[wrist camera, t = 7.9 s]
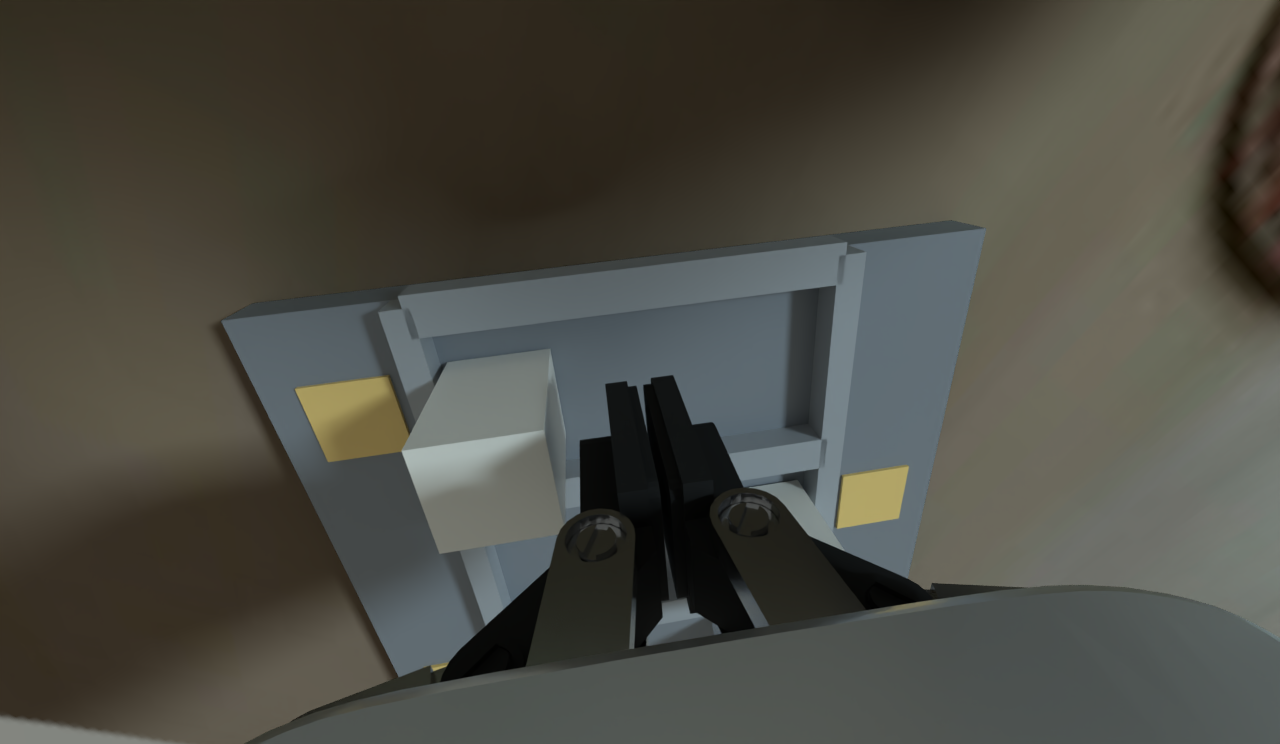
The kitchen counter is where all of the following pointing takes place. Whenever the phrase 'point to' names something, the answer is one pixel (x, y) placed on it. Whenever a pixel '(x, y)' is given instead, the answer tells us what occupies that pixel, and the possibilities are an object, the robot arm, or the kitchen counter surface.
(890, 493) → the switch board
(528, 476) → the tab
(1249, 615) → the kitchen counter surface
